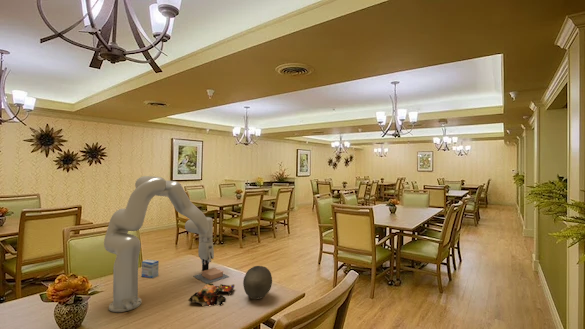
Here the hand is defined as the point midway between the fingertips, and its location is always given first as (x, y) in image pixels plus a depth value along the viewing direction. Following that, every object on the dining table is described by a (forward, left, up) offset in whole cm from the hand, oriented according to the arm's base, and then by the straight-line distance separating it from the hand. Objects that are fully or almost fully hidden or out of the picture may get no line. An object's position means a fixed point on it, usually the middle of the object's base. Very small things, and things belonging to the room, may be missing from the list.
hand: (205, 270), depth 169 cm
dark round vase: (-46, -1, -2) cm, 46 cm away
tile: (-2, 0, 0) cm, 2 cm away
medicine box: (+18, +24, -2) cm, 30 cm away
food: (-28, +13, -3) cm, 31 cm away
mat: (-6, 0, -2) cm, 7 cm away
